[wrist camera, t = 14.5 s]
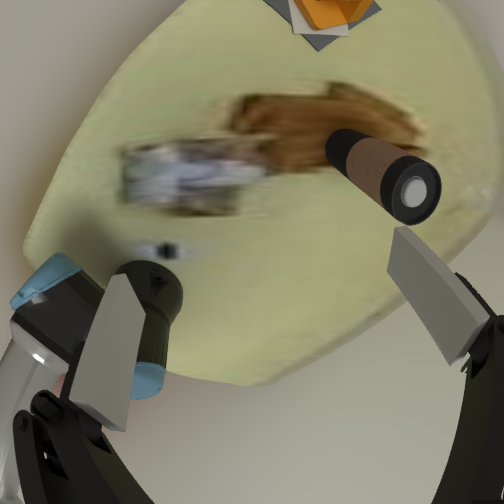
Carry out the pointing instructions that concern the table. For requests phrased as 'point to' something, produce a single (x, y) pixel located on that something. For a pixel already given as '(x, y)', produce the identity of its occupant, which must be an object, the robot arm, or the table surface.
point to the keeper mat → (319, 39)
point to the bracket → (332, 12)
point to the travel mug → (387, 175)
